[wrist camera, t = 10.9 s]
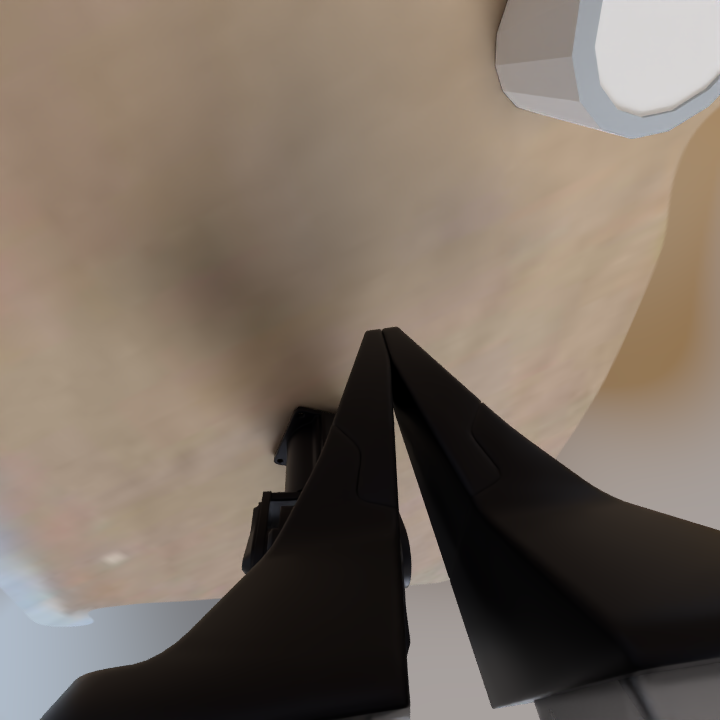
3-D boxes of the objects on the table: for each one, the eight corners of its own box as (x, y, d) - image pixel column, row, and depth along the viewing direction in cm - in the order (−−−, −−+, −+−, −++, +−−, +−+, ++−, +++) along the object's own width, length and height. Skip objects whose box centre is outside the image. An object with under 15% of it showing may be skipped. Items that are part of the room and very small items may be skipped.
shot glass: (492, 150, 18) (574, 172, 13) (469, -30, 14) (574, -114, 9) (625, 92, 18) (775, 87, 12) (640, -117, 14) (876, -269, 8)
